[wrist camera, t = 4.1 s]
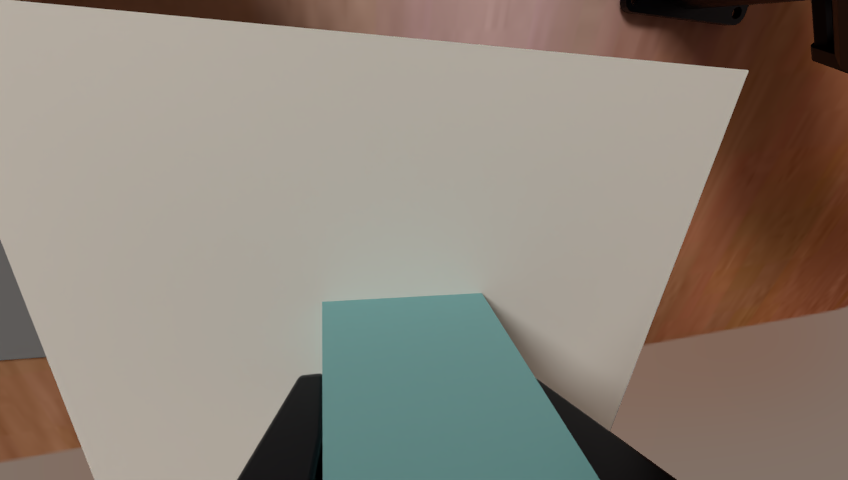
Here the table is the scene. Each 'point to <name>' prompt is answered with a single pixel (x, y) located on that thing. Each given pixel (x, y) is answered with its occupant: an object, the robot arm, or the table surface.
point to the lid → (339, 236)
